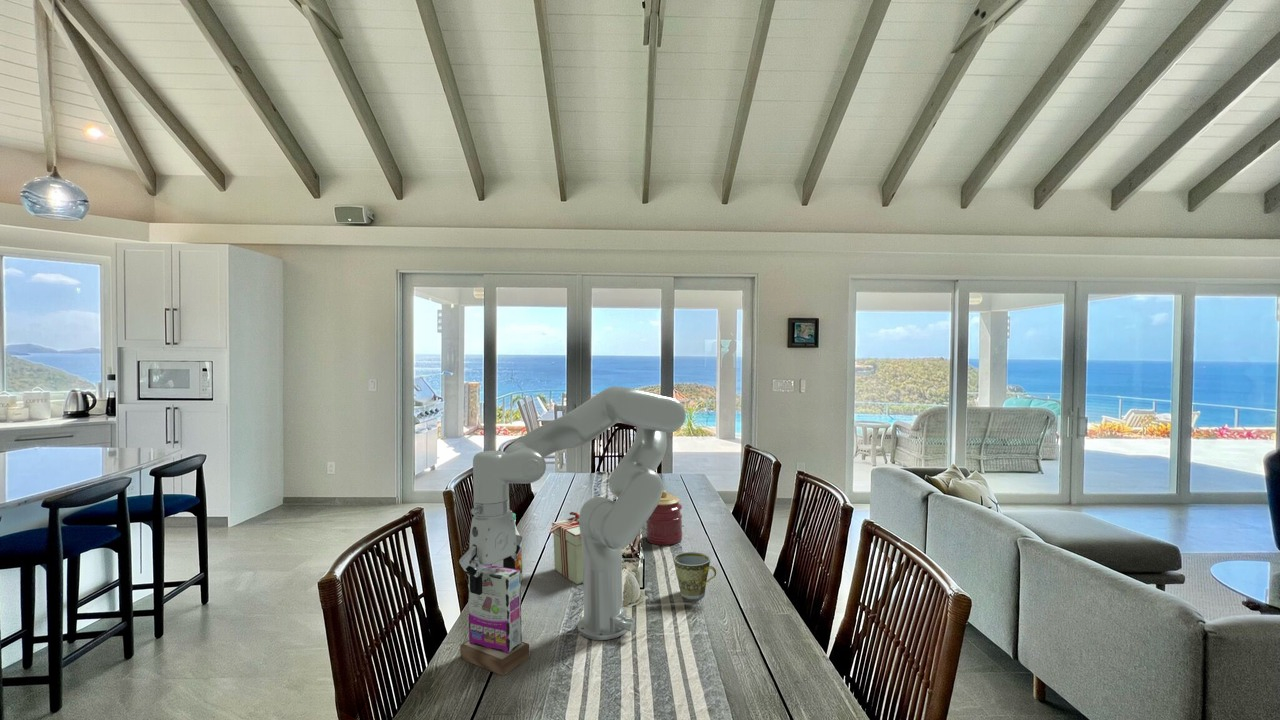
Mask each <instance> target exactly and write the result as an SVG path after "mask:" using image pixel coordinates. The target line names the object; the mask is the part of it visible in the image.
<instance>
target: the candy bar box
mask: <svg viewBox="0 0 1280 720" xmlns="http://www.w3.org/2000/svg"><path fill="white" fill-rule="evenodd" d="M477 566H478V565H476V567H475V570H476V568H477ZM480 576H482V594H481V595H477V594H474V593H471V592H470V575H467V587H468V588H467V590H468V591H467V592H468V593H467V596H468V597H467V599H468V604H467V605H468V640H469V643H470V644H473V645H477V646H481V647H485V648H489V649H494V650H498V651H502V652H506V653H510V652H511V651H512V650H514V649H515V648H516V647H518V646H519V645H520V644H521V643H522V642H523V637H522V634H523V633H522V591H521V589H522V588H521V586H522V585H521V582H520V570H515V569H510V568H503V567H497V566H495V565H492V564H491V565H489V566H484V567H483V569H482V571H481V573H480Z"/></svg>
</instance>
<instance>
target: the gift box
mask: <svg viewBox="0 0 1280 720" xmlns="http://www.w3.org/2000/svg"><path fill="white" fill-rule="evenodd" d="M568 514H569V515H570V516H572V517H570V518H567V519H563V520H558V521H555V522H554V521H553V522H551V527H550V530H549V534H553V553H554V554H553V557H554V559H553V560H554V571H557V573H559V574H561V575H562V576H563V577H565V578H567V579H568V580H569V581H570V582H572V583H574V584H575V585H580V584H583V551H582V540H581V534H580V528H579V515H580V512H574V511H571V512H569V513H568Z"/></svg>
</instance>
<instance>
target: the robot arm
mask: <svg viewBox="0 0 1280 720" xmlns="http://www.w3.org/2000/svg"><path fill="white" fill-rule="evenodd" d="M686 413H687V412H686V410H685V407H684V405H683V404H682V402H681V401H680V400H677V398H673V397H670V396H664V395H660V394H655V393H650V392H646V391H643V390H639V389H635V388H630V387H623V386H611V387H607V388H605V389H604V390H602V391H600V392H598V393H597V394H595V395H594V396H592V397H591V398H589V399H588V400H586V401H585V402H583V403H582V404H580V405H579V406H577V407H576V408H573V410H571V411H569V412H567V413H566V414H565V415H563V416H560V417H558V418H555V419H553V420H552V421H549V422H547V423H545V424H542V425H541V426H539V427H536V428H534V429H533V430H531V431H529V432H527V433H526V434H525V435H522V437H520V438H518V439H517V440H515V441H514V442H512V443H511V444H510V445H509V446H508V447H506V449H504V451H502V450H483V451H480V452H478V453H477V452H476V453H475V455H474V456H473V458H472V478H473V479H472V480H473V481H472V482H473V483H472V484H473V487H472V488H473V508H471V510H470V513H471V515H473V516H472V518H471V524H470V530H469V531H470V533H469V549H468V550H467V551H466V552H465V553H464V554H463V556H461V557H460V559H459V561H458V563H459V565H460V566H461V568H462V571H464V572H465V573H466V575H467V576H468V575H470V592H471V593H474V594H477V595H481V594H482V576H480V573H481V571H482V569H483V567H484V566H489V565H491V566H492V565H494V564H495V563H496V562H498V561H501V560H503V568H510V569H515V560H516V559H517V554H518V552H519V550H520V545H521V544H522V541H523V536H521V535H520V534H519V535H520V536H519V535H516V530H515V525H516V522H515V523H514V518H513V514H512V513H513V510H511V509H510V489H509V486H510V485H509V484H532V483H535V482H537V481H539V480H540V479H542V477H543V476H544V474H545V473H546V469H547V463H546V459H545V458H546V457H548V456H550V455H552V454H554V453H556V452H559V451H562V450H563V451H564V450H568V449H575V448H579V447H583V446H586V445H587V444H589V443H590V442H592V441H593V440H595V438H597V437H598V436H600V435H601V434H603V433H605V432H606V431H607V430H608V429H611V427H613V426H615V424H618V423H619V424H620V423H621V424H624V425H629V426H633V427H636V435H635V439H634V440H633V443H632V444H631V445H630V448H629V449H628V451H626V454H625V455H624V456H623V457H622V458H621V460H620V461H619V463H618V464H617V466H616V467H615V468H614V469H613V470H612V473H611V474H610V477H609V479H608V488H609V491H610V492H611V494H612V495H613V496H615V497H616V498H617V499H616V500H615V501H614V500H612V499H610V498H607V497H604V496H594V497H591V498H589V499H587V500H586V502H584V503H583V505H582V506H581V508H580V510H579V511H580V512H579V513H580V515H579V528H580V534H581V540H582V551H583V583H582V585H583V586H582V590H583V591H582V592H583V593H582V594H583V595H582V596H583V597H582V598H583V599H582V600H583V601H582V602H583V616H582V617H580V619H579V620H578V622H577V631H578V633H579V634H580V635H581V636H582V637H584V638H587V639H589V640H593V641H594V640H595V641H605V640H606V641H607V640H612V639H616V638H618V637H621V636H623V635H624V634H625V633H627V632H631V633H632V632H634V630H635V623H636V618H634V617H629V616H628V615H627V608H624V607H623V602H624V601H623V557H622V556H623V555H622V549H623V548H624V549H625V548H626V547H628V546H629V545H630V544H631V543H633V541H634V540H635V539H636V537H637V536H638V535H639V533H640V532H641V530H642V529H643V528H644V526H646V525H645V524H646V522H647V520H648V519H649V517H650V516H651V514H652V513H653V511H654V510H655V508H656V507H657V505H658V503H659V501H660V499H661V496H662V491H663V490H664V489H663V487H664V486H663V481H662V478H661V477H660V475H659V474H658V473H657V472H656V470H657V469H658V467H659V465H660V464H661V462H662V461H663V459H664V456H665V455H666V452H667V445H668V443H667V442H668V438H667V433H669V434H670V433H674V432H676V431H678V430H680V429H681V427H682V426H683V425H684V423H685V420H686V416H687V415H686ZM476 566H477V568H476V570H475V567H476Z"/></svg>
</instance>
